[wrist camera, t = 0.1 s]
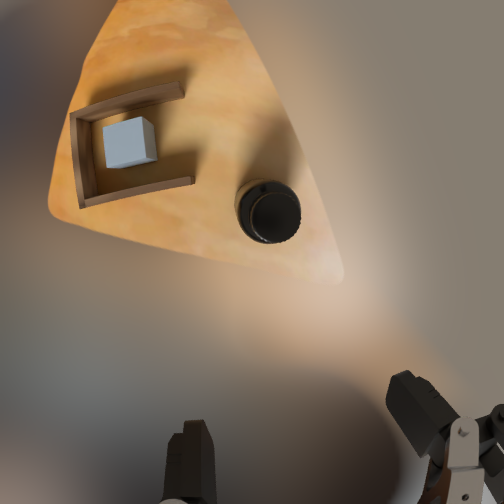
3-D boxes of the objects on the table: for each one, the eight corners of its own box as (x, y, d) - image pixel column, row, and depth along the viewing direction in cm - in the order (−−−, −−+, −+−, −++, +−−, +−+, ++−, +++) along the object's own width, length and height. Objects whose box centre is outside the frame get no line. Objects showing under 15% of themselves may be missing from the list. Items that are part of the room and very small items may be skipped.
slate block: (119, 133, 31) (102, 127, 25) (153, 125, 32) (141, 116, 26) (123, 168, 33) (106, 167, 27) (157, 160, 33) (146, 157, 27)
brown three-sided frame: (84, 118, 29) (69, 113, 25) (183, 91, 31) (178, 80, 26) (93, 205, 33) (79, 209, 29) (194, 183, 34) (191, 184, 30)
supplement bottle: (247, 170, 35) (261, 166, 23) (292, 192, 36) (325, 201, 25) (224, 216, 36) (227, 235, 25) (270, 237, 38) (292, 265, 26)
